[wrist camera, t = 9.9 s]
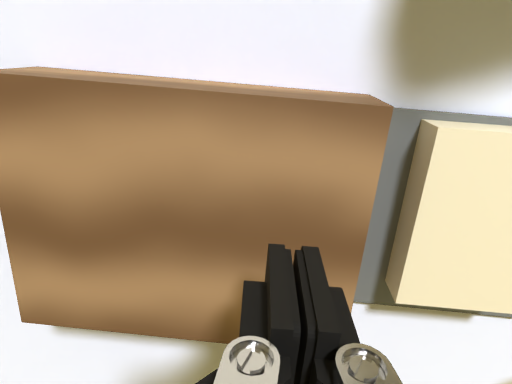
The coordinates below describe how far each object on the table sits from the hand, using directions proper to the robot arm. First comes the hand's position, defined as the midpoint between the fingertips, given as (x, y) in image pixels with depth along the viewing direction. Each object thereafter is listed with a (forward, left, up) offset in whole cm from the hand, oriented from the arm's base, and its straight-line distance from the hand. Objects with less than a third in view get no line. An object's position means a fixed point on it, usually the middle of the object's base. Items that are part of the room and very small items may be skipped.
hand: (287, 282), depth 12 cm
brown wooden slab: (0, -5, -8) cm, 9 cm away
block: (0, +9, -6) cm, 11 cm away
